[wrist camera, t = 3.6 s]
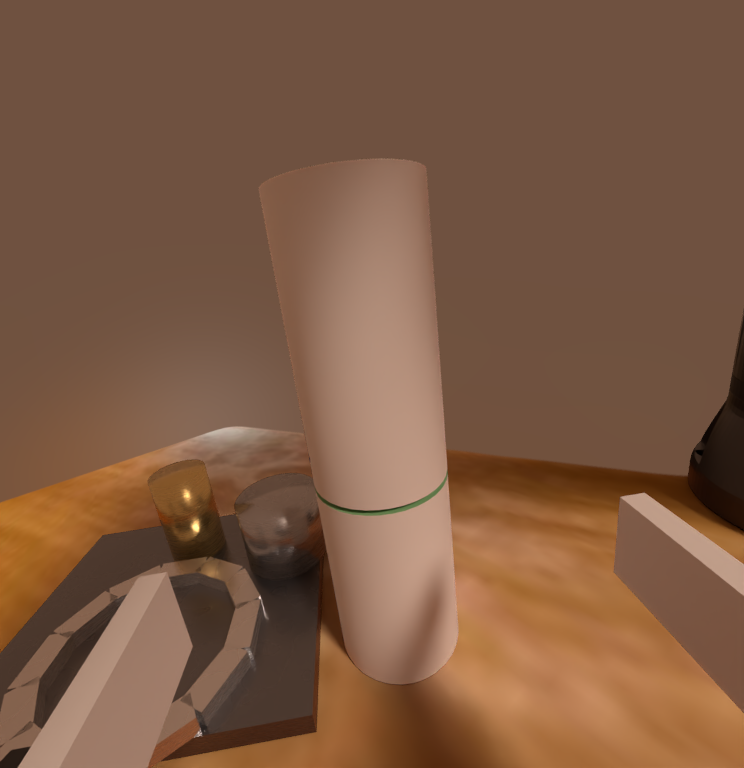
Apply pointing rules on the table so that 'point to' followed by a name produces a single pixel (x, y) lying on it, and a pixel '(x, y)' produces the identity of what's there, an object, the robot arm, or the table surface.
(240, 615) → the carrier
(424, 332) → the cylindrical container
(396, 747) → the table surface
